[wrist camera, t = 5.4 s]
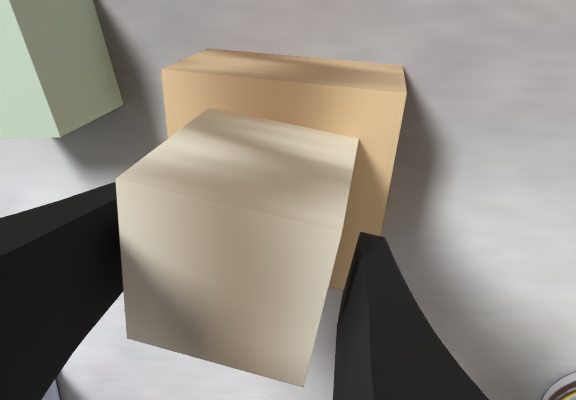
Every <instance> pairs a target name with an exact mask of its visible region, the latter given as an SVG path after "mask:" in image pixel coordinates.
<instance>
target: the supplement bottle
mask: <svg viewBox="0 0 576 400" xmlns="http://www.w3.org/2000/svg"><path fill="white" fill-rule="evenodd" d="M542 400H576V372H574V373H572V374H569V375H567V376H565V377H563V378H562V379H560V380H559V381H557V382H556V383H555V384H553V385H552V386H551V387H550V388H549V389H548V391H547V392H546V393H545V395H544V397H543V399H542Z"/></svg>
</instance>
